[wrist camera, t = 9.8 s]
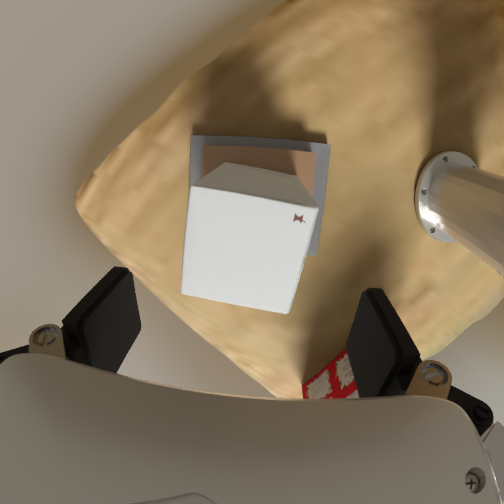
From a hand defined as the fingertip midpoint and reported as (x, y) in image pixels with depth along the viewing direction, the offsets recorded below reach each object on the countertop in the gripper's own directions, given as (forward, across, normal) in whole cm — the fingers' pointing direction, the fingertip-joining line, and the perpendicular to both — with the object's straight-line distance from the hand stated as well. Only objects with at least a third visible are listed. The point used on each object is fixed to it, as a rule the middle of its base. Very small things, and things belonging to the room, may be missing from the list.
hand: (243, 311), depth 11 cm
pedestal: (+23, 0, 0) cm, 23 cm away
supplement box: (+18, +1, 0) cm, 18 cm away
